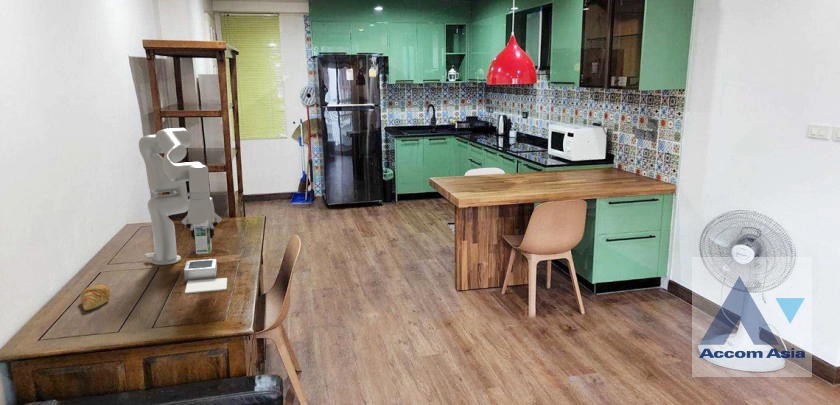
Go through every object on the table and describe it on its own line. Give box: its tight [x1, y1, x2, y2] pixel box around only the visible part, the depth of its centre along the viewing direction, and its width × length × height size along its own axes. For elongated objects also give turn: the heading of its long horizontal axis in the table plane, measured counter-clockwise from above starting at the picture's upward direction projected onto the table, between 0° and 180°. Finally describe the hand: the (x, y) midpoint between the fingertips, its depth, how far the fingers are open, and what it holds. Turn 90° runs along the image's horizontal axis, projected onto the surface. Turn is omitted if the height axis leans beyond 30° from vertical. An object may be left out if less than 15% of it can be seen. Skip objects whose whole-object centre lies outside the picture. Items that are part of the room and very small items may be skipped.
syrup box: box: [194, 220, 213, 255], centre depth 230 cm, size 6×6×14 cm
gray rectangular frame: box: [183, 258, 218, 282], centre depth 250 cm, size 12×19×5 cm, turn 17°
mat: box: [184, 277, 228, 295], centre depth 235 cm, size 16×13×1 cm
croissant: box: [80, 283, 111, 311], centre depth 217 cm, size 21×10×8 cm, turn 13°
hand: (203, 237), depth 230 cm, fingers closed on syrup box, 5 cm apart
